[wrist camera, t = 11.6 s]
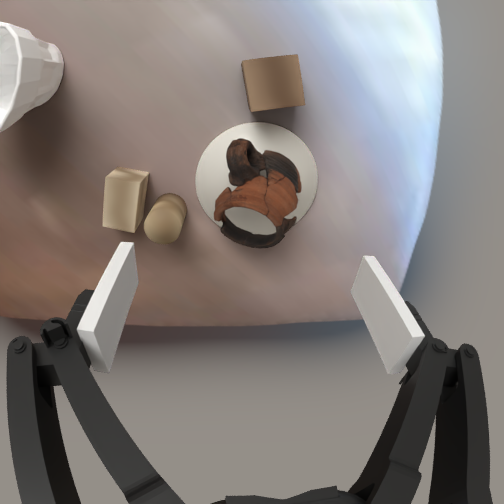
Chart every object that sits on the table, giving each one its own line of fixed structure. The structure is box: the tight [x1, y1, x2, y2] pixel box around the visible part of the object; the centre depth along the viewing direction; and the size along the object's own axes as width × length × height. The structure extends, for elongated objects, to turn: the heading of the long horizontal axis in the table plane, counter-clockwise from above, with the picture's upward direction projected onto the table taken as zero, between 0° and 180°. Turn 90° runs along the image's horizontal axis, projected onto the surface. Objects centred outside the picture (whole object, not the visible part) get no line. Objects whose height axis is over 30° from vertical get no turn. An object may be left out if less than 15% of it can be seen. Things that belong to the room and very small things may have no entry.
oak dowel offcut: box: [144, 193, 187, 244], centre depth 33 cm, size 4×4×5 cm
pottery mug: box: [214, 138, 302, 248], centre depth 31 cm, size 12×10×8 cm
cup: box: [0, 22, 64, 133], centre depth 19 cm, size 12×12×11 cm
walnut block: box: [241, 55, 305, 112], centre depth 26 cm, size 5×5×5 cm
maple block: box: [103, 167, 149, 233], centre depth 32 cm, size 4×6×4 cm, turn 164°
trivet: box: [196, 122, 318, 235], centre depth 34 cm, size 14×14×1 cm
